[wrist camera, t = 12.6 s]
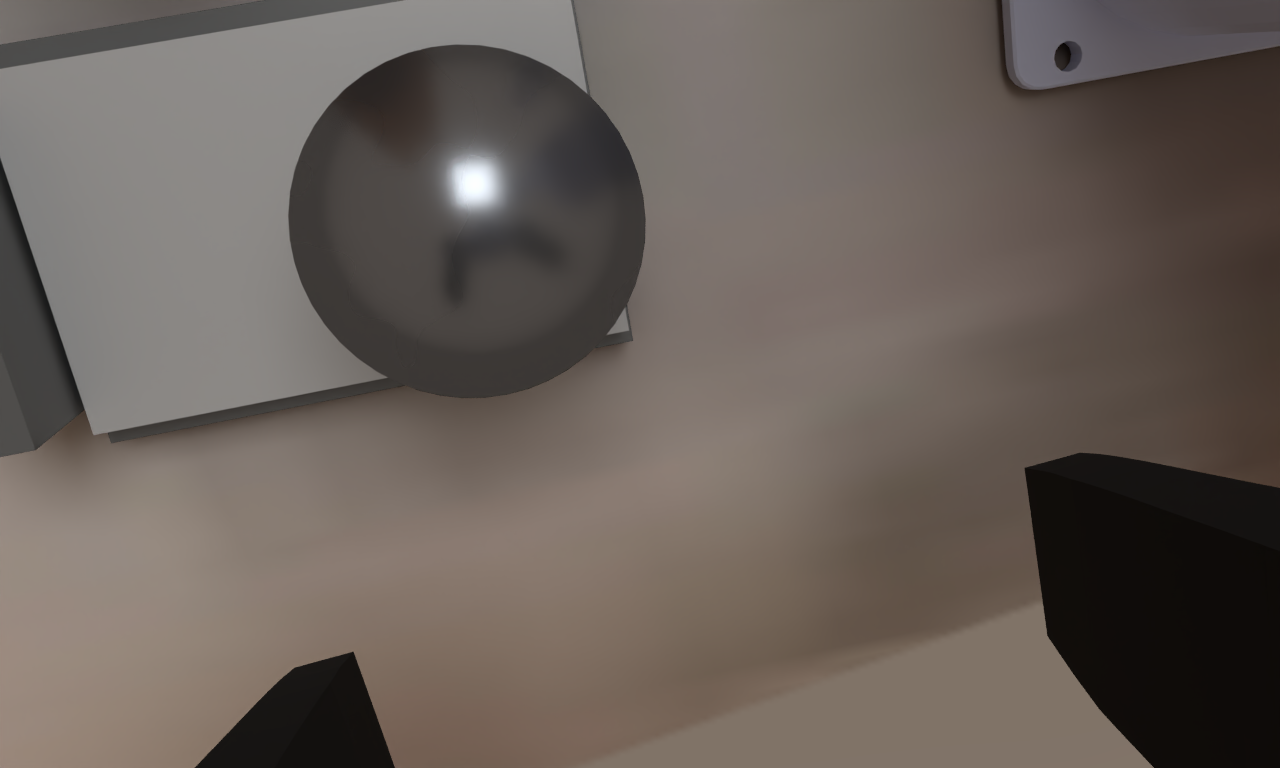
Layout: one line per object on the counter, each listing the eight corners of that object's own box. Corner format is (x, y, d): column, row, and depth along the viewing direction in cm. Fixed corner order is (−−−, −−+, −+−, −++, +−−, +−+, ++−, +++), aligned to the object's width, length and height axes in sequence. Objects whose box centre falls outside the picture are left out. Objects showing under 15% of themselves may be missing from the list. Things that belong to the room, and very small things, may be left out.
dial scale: (561, -44, 19) (576, -71, 15) (626, 327, 20) (653, 380, 17) (-88, 65, 18) (-228, 64, 14) (44, 441, 20) (-51, 520, 16)
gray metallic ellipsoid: (576, 33, 17) (612, 15, 12) (619, 278, 18) (671, 361, 13) (322, 77, 17) (245, 79, 12) (383, 325, 18) (338, 428, 13)
